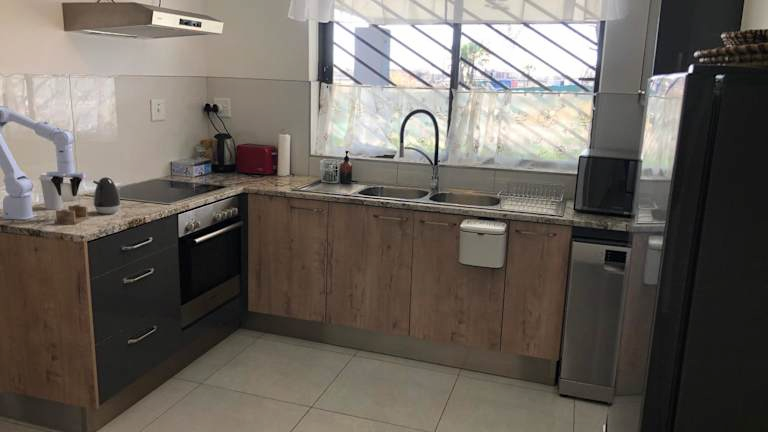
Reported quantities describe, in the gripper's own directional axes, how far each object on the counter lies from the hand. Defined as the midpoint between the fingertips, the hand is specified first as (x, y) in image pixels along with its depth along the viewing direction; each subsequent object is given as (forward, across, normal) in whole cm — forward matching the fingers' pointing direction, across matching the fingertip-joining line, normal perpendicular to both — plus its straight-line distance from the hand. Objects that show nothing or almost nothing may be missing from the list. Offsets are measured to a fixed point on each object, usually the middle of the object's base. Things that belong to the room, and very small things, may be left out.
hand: (68, 195), depth 239 cm
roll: (+2, 0, 0) cm, 2 cm away
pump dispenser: (+10, +9, +13) cm, 19 cm away
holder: (+10, +3, -4) cm, 11 cm away
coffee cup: (+10, -16, +17) cm, 25 cm away
